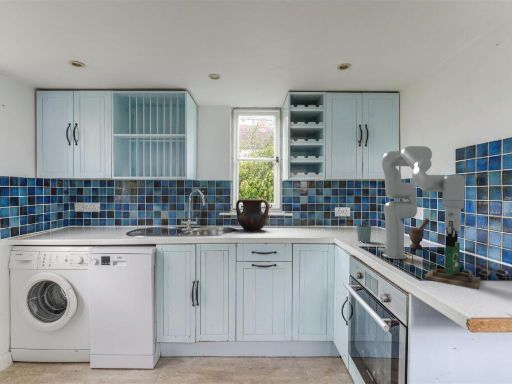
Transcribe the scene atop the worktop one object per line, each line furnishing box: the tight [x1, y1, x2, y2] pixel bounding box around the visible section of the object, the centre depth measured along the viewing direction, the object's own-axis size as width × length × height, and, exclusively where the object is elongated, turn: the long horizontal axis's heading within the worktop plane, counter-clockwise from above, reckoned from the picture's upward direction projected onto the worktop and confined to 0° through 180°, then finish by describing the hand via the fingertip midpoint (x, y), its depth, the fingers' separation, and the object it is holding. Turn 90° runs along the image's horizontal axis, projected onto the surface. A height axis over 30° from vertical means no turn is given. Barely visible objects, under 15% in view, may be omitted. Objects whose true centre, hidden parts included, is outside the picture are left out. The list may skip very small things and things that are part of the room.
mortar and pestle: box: [408, 218, 431, 250], centre depth 183 cm, size 12×9×20 cm
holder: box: [424, 268, 481, 290], centre depth 118 cm, size 18×14×3 cm
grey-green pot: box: [356, 224, 372, 243], centre depth 205 cm, size 10×10×12 cm
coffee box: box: [444, 241, 461, 275], centre depth 118 cm, size 8×3×13 cm, turn 125°
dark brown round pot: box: [235, 198, 270, 233], centre depth 259 cm, size 32×28×30 cm
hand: (451, 244), depth 119 cm, fingers open, 9 cm apart
